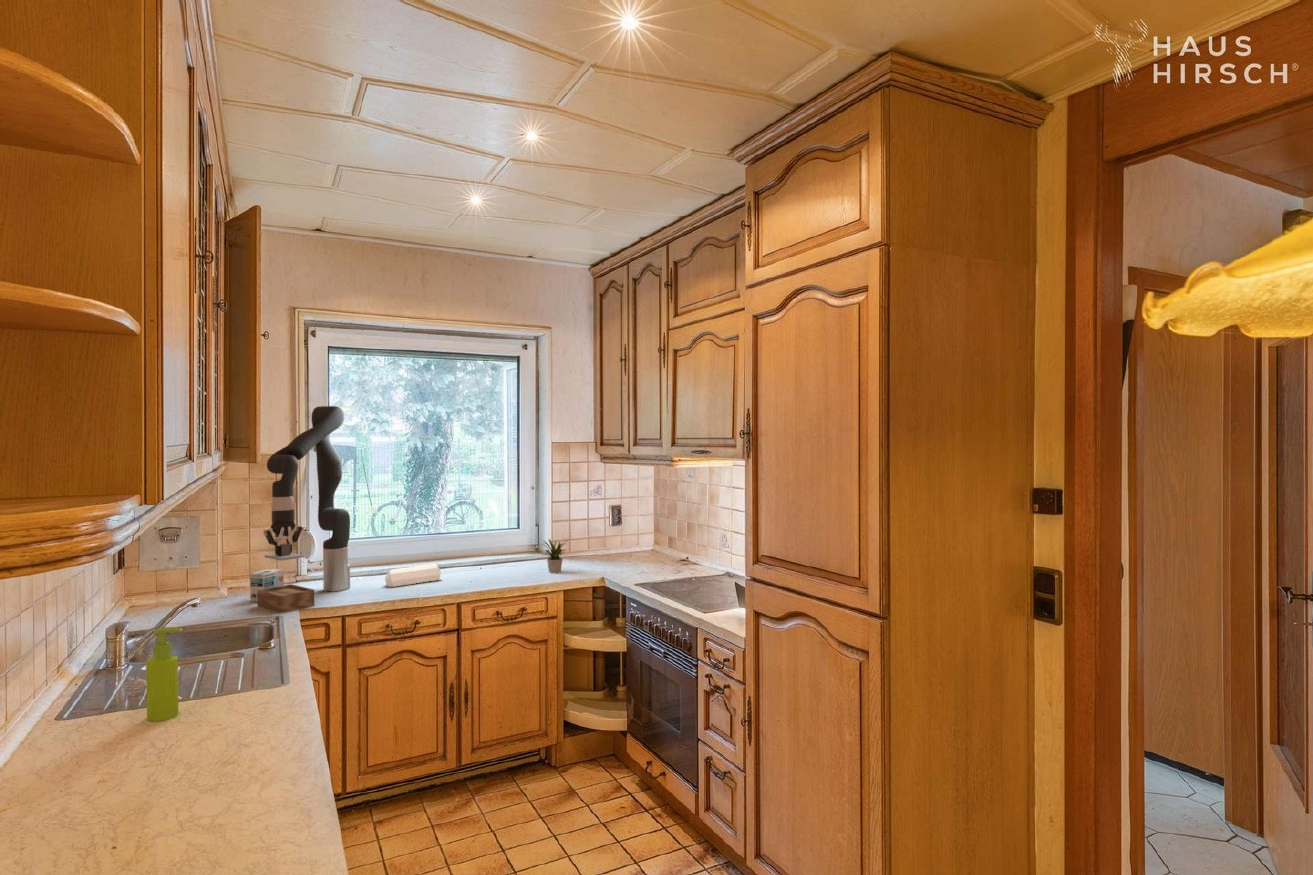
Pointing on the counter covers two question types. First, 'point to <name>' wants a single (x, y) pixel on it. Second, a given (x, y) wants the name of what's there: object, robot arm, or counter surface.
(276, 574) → the light bulb box
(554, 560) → the house plant
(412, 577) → the pale wooden prism
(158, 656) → the soap dispenser
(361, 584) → the counter surface
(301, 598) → the walnut box
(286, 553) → the cover plate
